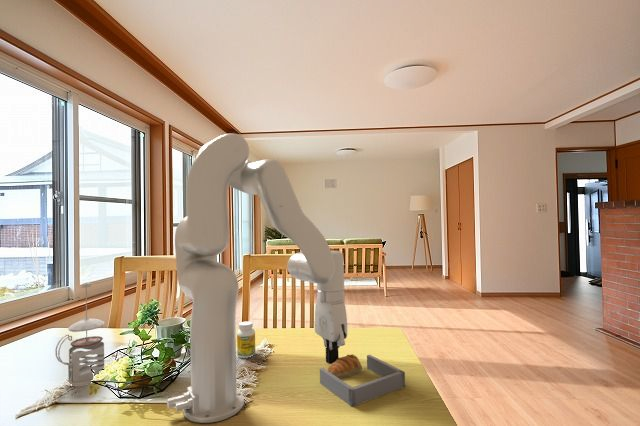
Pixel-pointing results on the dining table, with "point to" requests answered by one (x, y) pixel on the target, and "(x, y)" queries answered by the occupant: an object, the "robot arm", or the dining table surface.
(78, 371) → the french press
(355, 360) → the pastry
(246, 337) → the supplement bottle
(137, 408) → the dining table surface
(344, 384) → the gray u-shaped fence
